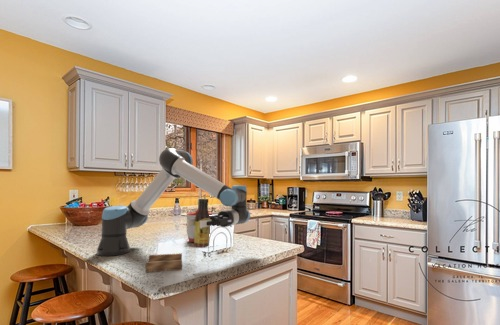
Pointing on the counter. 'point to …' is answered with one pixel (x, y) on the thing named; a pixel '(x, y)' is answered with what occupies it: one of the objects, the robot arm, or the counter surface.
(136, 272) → the counter surface
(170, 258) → the groove board
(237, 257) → the counter surface
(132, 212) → the robot arm
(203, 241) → the sauce bottle
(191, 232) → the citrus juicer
